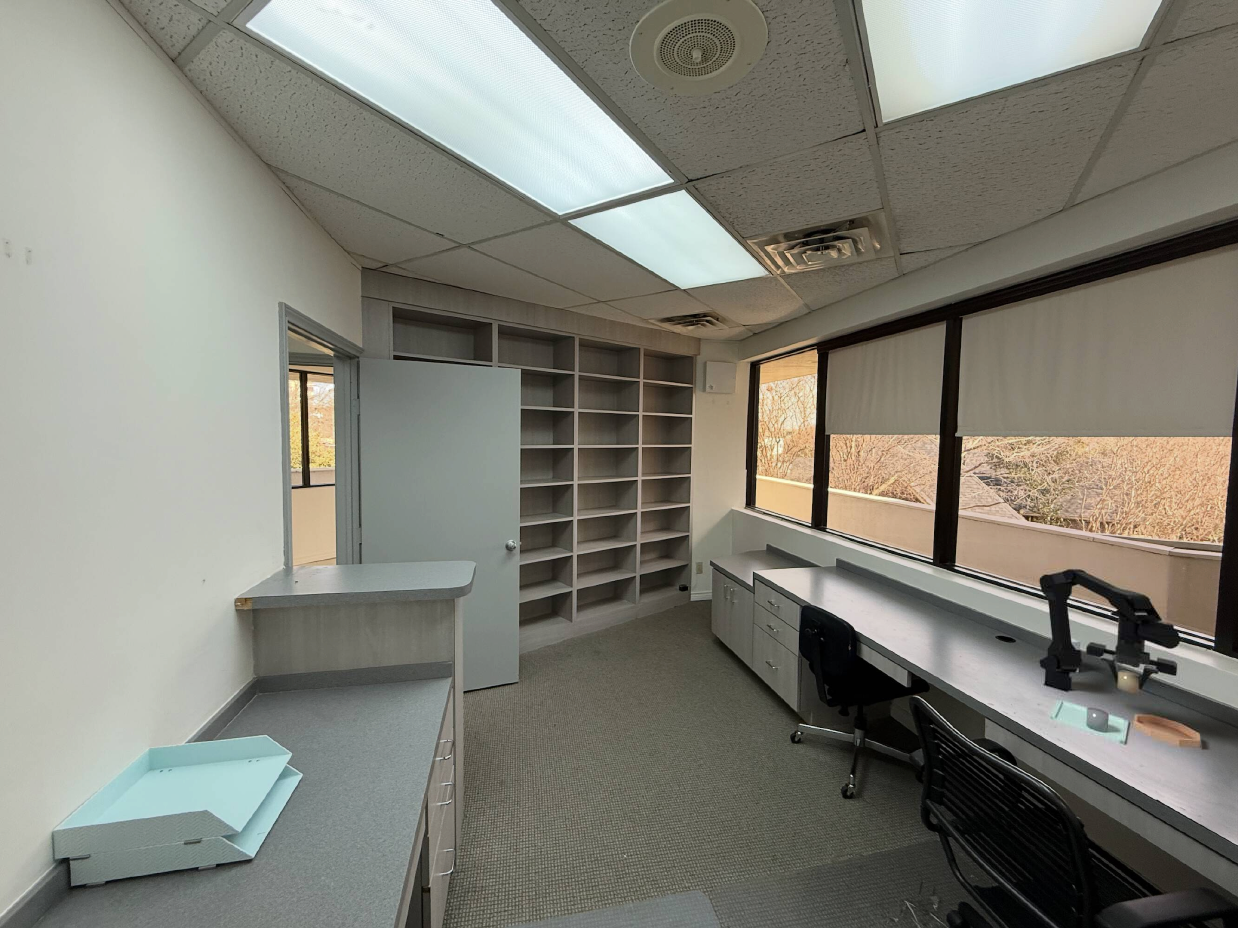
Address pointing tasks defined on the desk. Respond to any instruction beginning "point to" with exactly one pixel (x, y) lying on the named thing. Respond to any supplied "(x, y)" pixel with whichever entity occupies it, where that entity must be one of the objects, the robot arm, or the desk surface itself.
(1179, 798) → the desk surface
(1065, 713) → the parts tray
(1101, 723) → the grey rounded lump
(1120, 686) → the river pebble
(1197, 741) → the dish
